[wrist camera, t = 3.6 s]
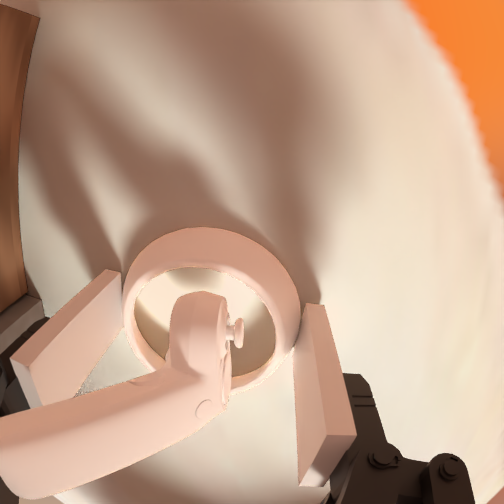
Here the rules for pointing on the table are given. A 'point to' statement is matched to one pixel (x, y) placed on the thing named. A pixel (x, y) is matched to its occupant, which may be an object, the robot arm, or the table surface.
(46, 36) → the table surface
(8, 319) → the open wooden box
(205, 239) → the pink door lever handle
